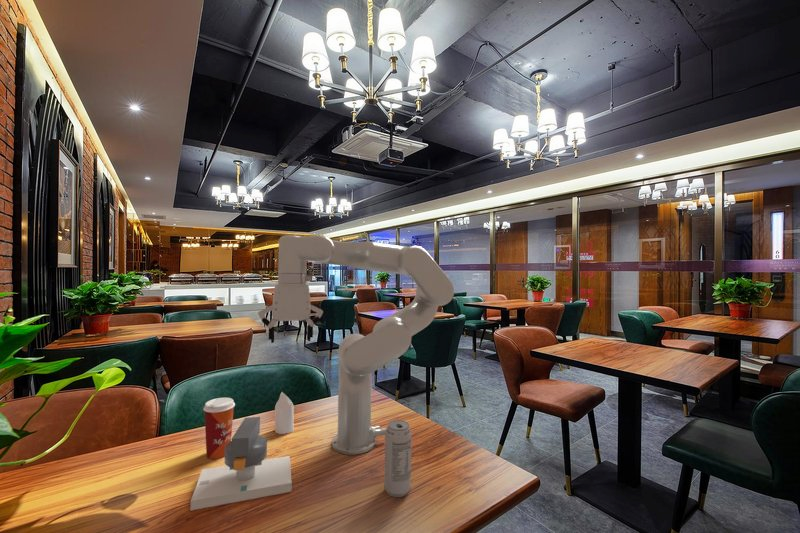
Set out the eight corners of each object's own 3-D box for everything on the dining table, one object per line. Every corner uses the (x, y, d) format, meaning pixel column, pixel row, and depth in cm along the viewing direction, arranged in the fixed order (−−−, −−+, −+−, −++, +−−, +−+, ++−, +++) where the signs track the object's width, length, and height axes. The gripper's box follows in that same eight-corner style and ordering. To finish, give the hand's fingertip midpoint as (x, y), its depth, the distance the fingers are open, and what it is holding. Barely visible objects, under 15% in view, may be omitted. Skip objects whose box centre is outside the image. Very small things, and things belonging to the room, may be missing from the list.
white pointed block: (298, 391, 110) (284, 396, 105) (297, 429, 109) (283, 436, 105) (284, 387, 112) (270, 392, 108) (283, 424, 112) (269, 431, 107)
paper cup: (220, 463, 90) (222, 408, 90) (195, 459, 91) (196, 405, 91) (240, 448, 97) (241, 397, 97) (216, 444, 99) (217, 395, 99)
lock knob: (232, 446, 86) (233, 418, 86) (270, 444, 87) (271, 416, 87) (216, 474, 74) (216, 441, 74) (260, 470, 76) (261, 438, 76)
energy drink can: (404, 480, 84) (406, 417, 84) (414, 495, 78) (415, 428, 78) (381, 485, 82) (382, 421, 82) (389, 501, 76) (390, 432, 76)
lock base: (289, 463, 90) (290, 440, 90) (291, 491, 79) (291, 464, 79) (202, 477, 83) (202, 452, 83) (190, 510, 72) (191, 481, 72)
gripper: (322, 279, 104) (320, 337, 103) (259, 279, 98) (258, 340, 98) (325, 280, 97) (324, 342, 96) (258, 280, 91) (256, 345, 90)
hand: (290, 341), depth 97 cm, fingers open, 9 cm apart
